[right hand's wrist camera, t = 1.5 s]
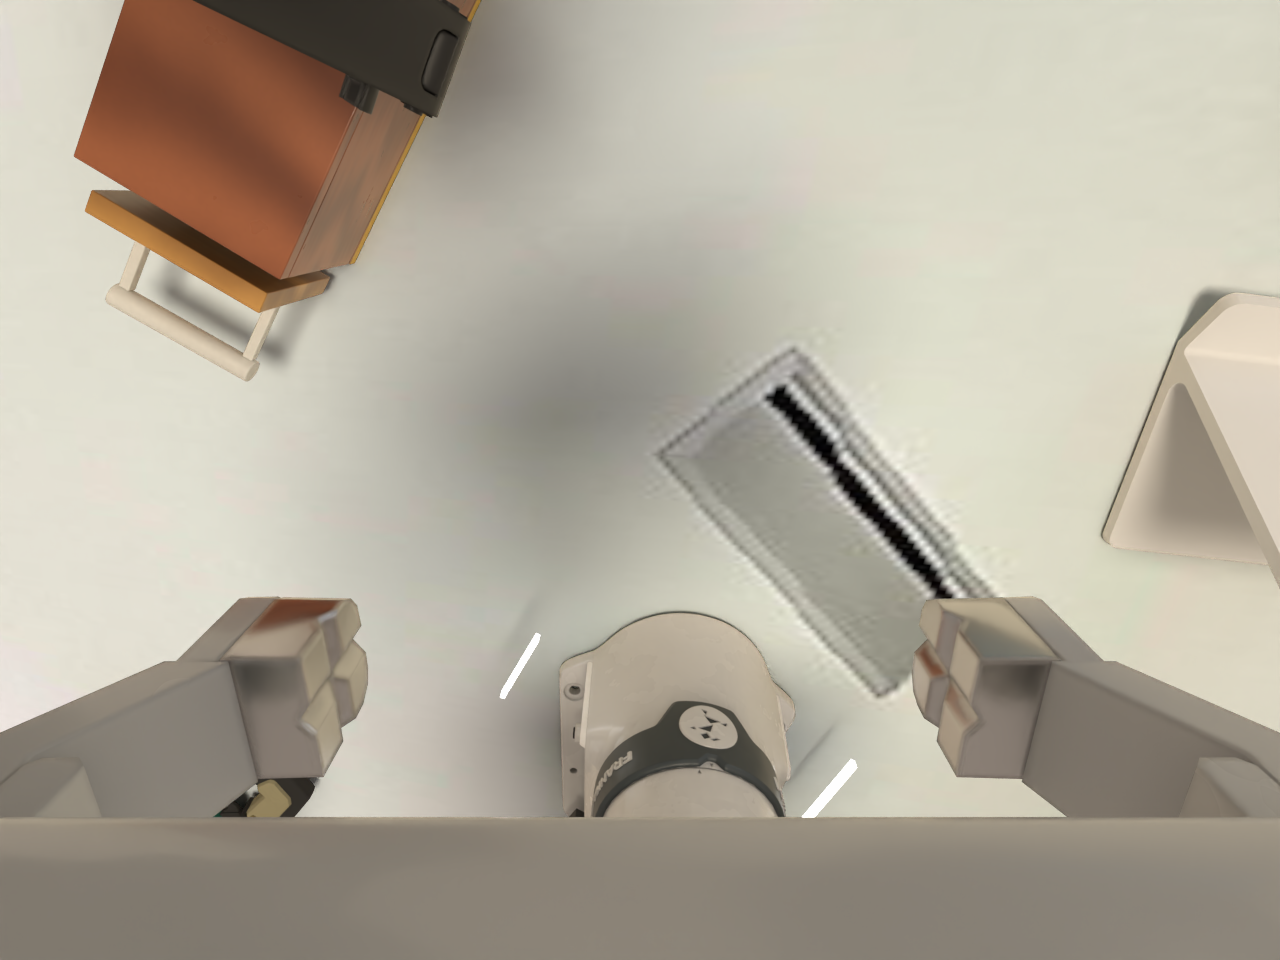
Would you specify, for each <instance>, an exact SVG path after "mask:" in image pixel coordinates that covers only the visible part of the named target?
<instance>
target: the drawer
mask: <svg viewBox="0 0 1280 960" xmlns="http://www.w3.org/2000/svg"><path fill="white" fill-rule="evenodd" d="M85 212H87V213H88V214H90V215H92V216H94V217H95V218H97V219H99V220H100V221H102V222H104V223H106V224H107V225H109V226H111V227H112V228H114V229H116V230H117V231H119V232H121V233H123V234H124V235H126V236H128V237H129V238H131V239H133V240H135V243H134V245H133V248H132V251H131V254H130V256H129V259H128V262H127V264H126V267H125V270H124V272H123V275H122V278H121V281H120V283H119V284H116V285H114V286H113V287H112V288H111V289H110V290H109V291H108V293H107V295H106V302H107V303H108V304H109V305H111V306H113V307H114V308H116V309H118V310H120V311H122V312H123V313H125V314H127V315H129V316H130V317H132V318H134V319H136V320H138V321H139V322H141V323H143V324H145V325H146V326H148V327H150V328H152V329H154V330H155V331H157V332H159V333H161V334H162V335H164V336H166V337H168V338H170V339H171V340H173V341H175V342H177V343H178V344H180V345H182V346H184V347H186V348H187V349H189V350H191V351H193V352H194V353H196V354H198V355H200V356H202V357H203V358H205V359H207V360H209V361H211V362H212V363H214V364H216V365H218V366H219V367H221V368H223V369H225V370H227V371H228V372H230V373H232V374H234V375H235V376H237V377H239V378H241V379H243V380H244V381H249V380H251V379H252V378H253V377H254V375H255V374H256V373H257V371H258V369H259V365H260V364H259V362H258V361H256V360H255V359H257V356H258V354H259V352H260V350H261V348H262V345H263V343H264V341H265V339H266V337H267V334H268V332H269V330H270V328H271V326H272V323H273V321H274V319H275V317H276V315H277V312H278V310H279V308H280V306H283V305H286V304H290V303H293V302H296V301H300V300H303V299H306V298H309V297H313V296H316V295H319V294H322V293H323V292H324V290H325V288H326V286H327V283H328V281H329V279H330V277H329V276H327V275H326V274H324V273H322V272H321V271H315V272H311V273H307V274H302V275H298V276H293V277H289V278H288V277H287V278H284V279H278V278H276V277H274V276H273V275H271V274H269V273H268V272H266V271H264V270H263V269H261V268H259V267H258V266H256V265H254V264H253V263H251V262H249V261H248V260H246V259H244V258H243V257H241V256H239V255H238V254H236V253H234V252H233V251H231V250H229V249H228V248H226V247H224V246H223V245H221V244H219V243H218V242H216V241H214V240H213V239H211V238H209V237H208V236H206V235H204V234H203V233H201V232H199V231H198V230H196V229H194V228H192V227H191V226H189V225H187V224H186V223H184V222H182V221H181V220H179V219H177V218H176V217H174V216H172V215H171V214H169V213H167V212H166V211H164V210H162V209H161V208H159V207H157V206H156V205H154V204H152V203H151V202H149V201H147V200H146V199H144V198H142V197H141V196H139V195H137V194H136V193H134V192H132V191H125V190H92V191H91V194H90V197H89V200H88V203H87V206H86V209H85ZM150 250H152V251H153V252H155V253H157V254H159V255H160V256H162V257H164V258H165V259H167V260H169V261H171V262H172V263H174V264H176V265H177V266H179V267H181V268H183V269H184V270H186V271H188V272H189V273H191V274H193V275H195V276H196V277H198V278H200V279H201V280H203V281H205V282H206V283H208V284H210V285H212V286H213V287H215V288H217V289H218V290H220V291H222V292H224V293H225V294H227V295H229V296H230V297H232V298H234V299H236V300H237V301H239V302H241V303H242V304H244V305H246V306H248V307H249V308H251V309H253V310H254V311H256V312H258V313H260V312H262V313H261V315H260V318H259V320H258V322H257V324H256V326H255V329H254V331H253V333H252V335H251V338H250V340H249V342H248V344H247V347H246V349H245V351H244V353H242V352H240V351H239V350H237V349H235V348H233V347H232V346H230V345H228V344H226V343H225V342H223V341H221V340H219V339H218V338H216V337H214V336H212V335H211V334H209V333H207V332H205V331H204V330H202V329H200V328H198V327H197V326H195V325H193V324H191V323H190V322H188V321H186V320H184V319H183V318H181V317H179V316H177V315H176V314H174V313H172V312H170V311H169V310H167V309H165V308H163V307H161V306H160V305H158V304H156V303H154V302H153V301H151V300H149V299H147V298H146V297H144V296H142V295H140V294H139V293H137V292H135V291H133V290H135V288H136V286H137V283H138V281H139V278H140V275H141V273H142V270H143V267H144V265H145V262H146V259H147V257H148V254H149V252H150Z"/></svg>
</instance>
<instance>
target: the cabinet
mask: <svg viewBox="0 0 1280 960" xmlns="http://www.w3.org/2000/svg"><path fill="white" fill-rule="evenodd" d="M447 1H449V2H450V3H452V4H454V5H455V6H457V7H458V8H459V9H460V11H459V12H460V13H461V14H463V15H464V16H466V17H467V18H468V21H469V22H471V20H472V18H473V16H474V14H475V12H476V10H477V8H478V6H479V4H480V2H481V0H447ZM345 75H346V74H345V73H343V72H341V71H338V70H336V69H334V68H332V67H330V66H328V65H326V64H324V63H322V62H320V61H318V60H316V59H313V58H311V57H309V56H307V55H305V54H303V53H301V52H299V51H297V50H295V49H293V48H291V47H289V46H286V45H284V44H282V43H280V42H278V41H276V40H274V39H272V38H270V37H268V36H266V35H264V34H261V33H259V32H257V31H255V30H253V29H251V28H249V27H247V26H245V25H243V24H241V23H239V22H236V21H234V20H232V19H230V18H228V17H226V16H224V15H222V14H220V13H218V12H216V11H214V10H211V9H209V8H207V7H205V6H203V5H201V4H199V3H197V2H195V1H193V0H125V1H124V4H123V7H122V10H121V13H120V16H119V19H118V22H117V25H116V28H115V31H114V35H113V38H112V41H111V44H110V47H109V50H108V53H107V56H106V59H105V62H104V65H103V68H102V71H101V74H100V77H99V80H98V83H97V86H96V89H95V93H94V96H93V99H92V102H91V105H90V108H89V111H88V114H87V117H86V120H85V123H84V126H83V129H82V132H81V135H80V138H79V141H78V144H77V147H76V151H75V154H74V157H75V158H77V159H79V160H80V161H82V162H84V163H85V164H87V165H89V166H90V167H92V168H94V169H95V170H97V171H99V172H100V173H102V174H104V175H105V176H107V177H109V178H111V179H112V180H114V181H116V182H117V183H119V184H121V185H122V186H124V187H126V188H127V189H129V190H131V191H132V192H134V193H136V194H137V195H139V196H141V197H142V198H144V199H146V200H147V201H149V202H151V203H152V204H154V205H156V206H157V207H159V208H161V209H162V210H164V211H166V212H167V213H169V214H171V215H172V216H174V217H176V218H177V219H179V220H181V221H182V222H184V223H186V224H187V225H189V226H191V227H192V228H194V229H196V230H198V231H199V232H201V233H203V234H204V235H206V236H208V237H209V238H211V239H213V240H214V241H216V242H218V243H219V244H221V245H223V246H224V247H226V248H228V249H229V250H231V251H233V252H234V253H236V254H238V255H239V256H241V257H243V258H244V259H246V260H248V261H249V262H251V263H253V264H254V265H256V266H258V267H259V268H261V269H263V270H264V271H266V272H268V273H269V274H271V275H273V276H274V277H276V278H278V279H284V278H287V277H288V278H289V277H293V276H298V275H302V274H307V273H311V272H315V271H320V270H324V269H328V268H333V267H337V266H342V265H346V264H353V263H355V261H356V259H357V257H358V255H359V253H360V251H361V248H362V246H363V244H364V242H365V240H366V238H367V236H368V234H369V232H370V230H371V228H372V226H373V224H374V222H375V219H376V217H377V215H378V213H379V211H380V209H381V207H382V205H383V203H384V201H385V199H386V197H387V195H388V192H389V190H390V188H391V186H392V184H393V182H394V180H395V178H396V176H397V174H398V172H399V170H400V168H401V166H402V163H403V161H404V159H405V157H406V155H407V153H408V151H409V149H410V147H411V145H412V143H413V141H414V139H415V136H416V134H417V132H418V130H419V128H420V126H421V124H422V122H423V120H424V118H425V116H426V115H425V114H423V115H422V116H420V115H418V114H416V113H414V112H412V111H410V110H408V109H406V108H405V107H403V106H404V103H402V102H401V100H399V99H397V98H395V97H393V96H390V95H388V94H386V93H384V92H382V91H379V94H378V97H377V100H376V103H375V106H374V109H373V112H372V114H368V113H366V112H363V111H361V110H359V109H358V108H357V107H355V106H353V105H351V104H350V103H348V102H347V101H345V100H344V99H343V98H341V97H339V94H340V91H341V87H342V84H343V81H344V78H345Z"/></svg>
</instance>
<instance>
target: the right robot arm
mask: <svg viewBox="0 0 1280 960" xmlns="http://www.w3.org/2000/svg"><path fill="white" fill-rule="evenodd" d="M360 627H361V622H360V617H359V612H358V607H357V605H356V604H355V603H354V601H353V600H352V599H351V598H299V597H282V598H280V597H247V598H241V599H239V600H238V601H237V602H236V603H235V604H234V605H233V606H232V607H231V608H230V609H229V610H228V611H227V612H225V613H224V614H223V615H222V616H221V617H220V618H219V619H218V620H217V621H216V622H215V623H214V624H213V625H212V626H211V627H210V628H209V629H208V630H207V631H206V632H205V633H204V634H203V635H202V636H201V637H200V638H199V639H198V640H197V641H196V642H195V643H194V644H193V645H192V646H191V647H190V648H189V649H188V650H187V651H186V652H185V653H184V654H183V655H182V656H181V657H180V658H179V659H178V660H177V661H164V662H162V663H159V664H157V665H155V666H153V667H150V668H148V669H146V670H143V671H141V672H139V673H136V674H134V675H132V676H130V677H127V678H125V679H123V680H120V681H118V682H116V683H113V684H111V685H109V686H107V687H104V688H102V689H100V690H97V691H95V692H93V693H90V694H88V695H86V696H84V697H81V698H79V699H77V700H74V701H72V702H70V703H67V704H65V705H63V706H60V707H58V708H56V709H54V710H51V711H49V712H47V713H44V714H42V715H40V716H37V717H35V718H33V719H31V720H28V721H26V722H24V723H21V724H19V725H17V726H14V727H12V728H10V729H8V730H5V731H3V732H1V733H0V960H1280V733H1279V732H1277V731H1274V730H1272V729H1270V728H1267V727H1265V726H1263V725H1260V724H1258V723H1256V722H1254V721H1251V720H1249V719H1247V718H1244V717H1242V716H1240V715H1238V714H1235V713H1233V712H1231V711H1228V710H1226V709H1224V708H1221V707H1219V706H1217V705H1215V704H1212V703H1210V702H1208V701H1205V700H1203V699H1201V698H1199V697H1196V696H1194V695H1192V694H1189V693H1187V692H1185V691H1183V690H1180V689H1178V688H1176V687H1173V686H1171V685H1169V684H1166V683H1164V682H1162V681H1160V680H1157V679H1155V678H1153V677H1150V676H1148V675H1146V674H1144V673H1141V672H1139V671H1137V670H1134V669H1132V668H1130V667H1127V666H1125V665H1123V664H1121V663H1118V662H1116V661H1103V660H1102V659H1101V658H1100V657H1099V656H1098V655H1097V654H1096V653H1095V652H1094V651H1093V650H1092V649H1091V648H1090V647H1089V646H1088V645H1087V644H1086V643H1085V642H1084V641H1083V640H1082V639H1081V638H1080V637H1079V636H1078V635H1077V634H1076V633H1075V632H1074V631H1073V630H1072V629H1071V628H1070V627H1069V626H1068V625H1067V624H1066V623H1065V622H1064V621H1063V620H1062V619H1061V618H1060V617H1059V616H1058V615H1057V614H1056V613H1055V612H1054V611H1053V610H1052V609H1051V608H1050V607H1049V606H1048V605H1047V604H1046V603H1045V602H1044V601H1043V600H1041V599H1038V598H1036V597H1033V596H1029V597H1004V598H1003V597H1000V598H960V599H931V600H926V602H925V604H924V606H923V608H922V610H921V616H920V621H919V627H920V628H921V630H922V631H923V633H924V635H925V636H926V638H927V640H926V641H925V642H924V643H923V644H922V645H921V646H920V647H919V648H918V649H917V650H916V651H915V652H914V659H913V666H912V681H913V692H914V695H915V698H916V702H917V705H918V707H919V709H920V711H921V713H922V715H923V717H924V718H925V719H926V720H928V721H929V722H931V723H932V724H934V725H935V726H937V727H939V731H938V736H937V742H938V744H939V746H940V748H941V750H942V751H943V753H944V755H945V757H946V759H947V760H948V762H949V764H950V766H951V768H952V769H953V771H954V773H955V775H956V777H973V778H1009V779H1022V782H1023V783H1024V784H1025V785H1027V786H1028V787H1029V788H1031V789H1032V790H1033V791H1034V792H1036V793H1037V794H1038V795H1040V796H1041V797H1042V798H1044V799H1045V800H1046V801H1047V802H1049V803H1050V804H1051V805H1053V806H1054V807H1055V808H1056V809H1058V810H1059V811H1060V812H1062V813H1063V814H1064V815H1065V816H1067V817H815V816H816V815H817V814H818V813H819V811H820V810H821V809H822V808H823V807H824V806H825V804H826V803H827V802H828V801H829V800H830V799H831V797H832V796H833V795H834V794H835V793H836V792H837V790H838V789H839V788H840V787H841V786H842V785H843V783H844V782H845V781H846V780H847V779H848V778H849V776H850V775H851V774H852V773H853V772H854V771H855V769H856V768H857V766H856V763H855V761H854V760H852V759H851V760H850V761H849V762H848V763H847V765H846V766H845V767H844V768H843V769H842V771H841V772H840V773H839V774H838V775H837V776H836V778H835V779H834V780H833V781H832V782H831V783H830V785H829V786H828V787H827V788H826V789H825V791H824V792H823V793H822V794H821V795H820V796H819V798H818V799H817V800H816V801H815V802H814V803H813V805H812V806H811V807H810V808H809V809H808V811H807V812H806V813H805V814H804V815H803V816H802V817H785V804H784V800H783V795H782V791H781V790H782V788H783V786H784V784H785V781H788V780H789V779H790V775H791V767H790V761H789V754H788V748H787V742H786V736H785V733H786V732H787V730H788V729H789V727H790V725H791V724H792V722H793V721H794V718H795V708H794V703H793V701H792V700H791V698H790V697H789V696H788V695H787V694H786V693H785V692H784V691H783V690H782V689H781V688H780V687H778V686H777V685H776V684H775V683H774V682H773V680H772V678H771V676H770V674H769V672H768V669H767V666H766V664H765V661H764V659H763V657H762V656H761V654H760V652H759V651H758V649H757V648H756V647H755V645H754V644H753V643H752V642H751V641H750V640H749V639H748V638H747V637H746V636H745V635H744V634H742V633H741V632H740V631H738V630H737V629H735V628H734V627H732V626H730V625H728V624H726V623H724V622H722V621H720V620H717V619H714V618H711V617H707V616H703V615H698V614H690V613H669V614H662V615H656V616H652V617H648V618H645V619H642V620H640V621H637V622H635V623H633V624H631V625H629V626H627V627H625V628H623V629H622V630H620V631H619V632H617V633H616V634H615V635H614V636H612V637H611V638H610V639H609V640H608V641H606V642H605V643H604V644H603V645H602V646H600V647H599V648H597V649H595V650H594V651H590V652H587V653H584V654H581V655H578V656H575V657H573V658H571V659H569V660H567V661H565V662H564V663H563V664H562V665H561V667H560V671H559V686H560V722H561V757H562V793H563V809H564V812H565V813H566V814H567V815H568V816H569V817H213V816H215V815H216V814H217V813H219V812H220V811H221V810H223V809H224V808H225V807H226V806H228V805H229V804H230V803H232V802H233V801H234V800H235V799H237V798H238V797H239V796H241V795H242V794H243V793H244V792H246V791H247V790H248V789H250V788H251V787H252V786H254V785H255V784H256V783H257V782H258V779H270V778H306V777H324V775H325V773H326V771H327V770H328V768H329V766H330V764H331V762H332V761H333V759H334V757H335V755H336V753H337V751H338V750H339V748H340V746H341V744H342V742H343V736H342V731H341V727H343V726H345V725H346V724H348V723H349V722H351V721H352V720H354V719H355V718H356V717H357V715H358V713H359V711H360V709H361V707H362V705H363V702H364V698H365V694H366V689H367V685H368V664H367V658H366V652H365V651H364V650H363V649H362V648H361V647H360V646H359V645H358V644H357V643H356V642H355V641H354V640H353V638H354V636H355V635H356V633H357V631H358V630H359V628H360ZM539 638H540V635H539V634H537V633H536V634H535V636H534V638H533V639H532V641H531V643H530V644H529V646H528V648H527V649H526V651H525V653H524V654H523V656H522V658H521V659H520V661H519V663H518V664H517V666H516V668H515V669H514V671H513V673H512V674H511V676H510V678H509V679H508V681H507V683H506V684H505V686H504V688H503V689H502V692H501V696H500V697H501V698H503V699H504V698H505V697H506V695H507V693H508V692H509V690H510V688H511V687H512V685H513V683H514V682H515V680H516V678H517V677H518V675H519V673H520V672H521V670H522V668H523V667H524V665H525V663H526V662H527V660H528V658H529V657H530V655H531V653H532V652H533V650H534V648H535V647H536V645H537V644H538V642H539ZM572 686H578V687H579V688H578V689H573V688H572Z"/></svg>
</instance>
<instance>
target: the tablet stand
mask: <svg viewBox="0 0 1280 960" xmlns="http://www.w3.org/2000/svg"><path fill="white" fill-rule="evenodd" d="M1103 539H1104V540H1105V541H1106V542H1107V543H1109V544H1110V545H1111V546H1113V547H1115V548H1119V549H1128V550H1137V551H1146V552H1155V553H1164V554H1173V555H1182V556H1191V557H1200V558H1209V559H1218V560H1227V561H1236V562H1245V563H1254V564H1263V565H1269V566H1270V568H1271V571H1272V573H1273V575H1274V577H1275V579H1276V581H1277V584H1278V586H1279V588H1280V298H1278V297H1270V296H1262V295H1254V294H1247V293H1232V294H1228V295H1226V296H1224V297H1222V298H1221V299H1219V300H1218V301H1217V302H1216V303H1215V304H1214V305H1213V306H1212V307H1211V308H1210V309H1209V310H1208V311H1207V312H1206V313H1205V314H1204V315H1203V316H1202V317H1201V318H1200V319H1199V320H1198V321H1197V322H1196V323H1195V324H1194V325H1193V327H1192V328H1191V329H1190V330H1189V331H1188V332H1187V333H1186V334H1185V335H1184V336H1183V337H1182V338H1181V339H1180V340H1179V341H1178V343H1177V345H1176V348H1175V350H1174V353H1173V355H1172V358H1171V361H1170V363H1169V366H1168V368H1167V371H1166V373H1165V376H1164V378H1163V381H1162V383H1161V386H1160V388H1159V391H1158V394H1157V396H1156V399H1155V401H1154V404H1153V406H1152V409H1151V411H1150V414H1149V416H1148V419H1147V422H1146V424H1145V427H1144V429H1143V432H1142V434H1141V437H1140V439H1139V442H1138V444H1137V447H1136V450H1135V452H1134V455H1133V457H1132V460H1131V462H1130V465H1129V467H1128V470H1127V472H1126V475H1125V478H1124V480H1123V483H1122V485H1121V488H1120V490H1119V493H1118V495H1117V498H1116V500H1115V503H1114V505H1113V508H1112V511H1111V513H1110V516H1109V518H1108V521H1107V523H1106V526H1105V528H1104V531H1103Z"/></svg>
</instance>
